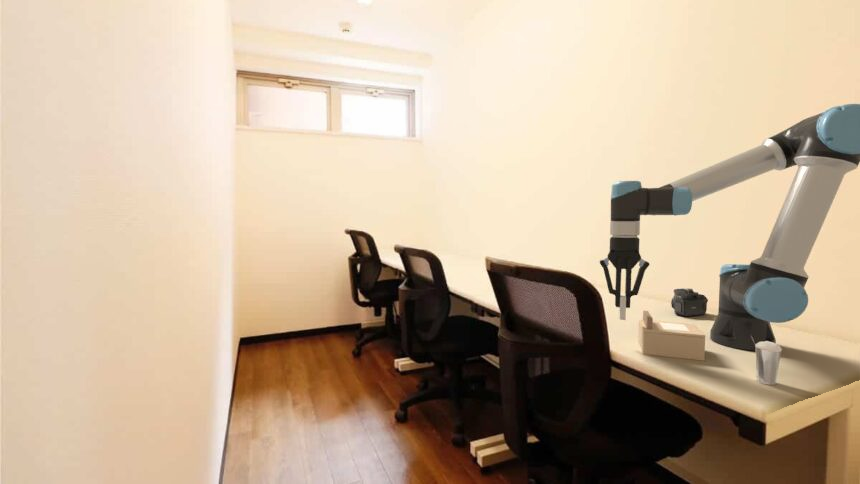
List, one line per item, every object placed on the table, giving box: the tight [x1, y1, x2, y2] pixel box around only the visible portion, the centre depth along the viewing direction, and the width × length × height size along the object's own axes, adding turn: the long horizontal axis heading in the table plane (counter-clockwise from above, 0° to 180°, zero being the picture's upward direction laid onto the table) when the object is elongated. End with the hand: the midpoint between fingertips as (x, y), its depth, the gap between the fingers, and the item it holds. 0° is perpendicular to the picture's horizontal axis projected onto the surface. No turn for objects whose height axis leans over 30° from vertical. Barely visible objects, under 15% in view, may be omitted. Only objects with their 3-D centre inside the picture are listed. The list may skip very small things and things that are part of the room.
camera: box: [670, 288, 709, 317], centre depth 150 cm, size 13×10×10 cm
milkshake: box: [751, 336, 783, 386], centre depth 90 cm, size 4×5×10 cm
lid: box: [638, 310, 706, 338], centre depth 111 cm, size 14×11×4 cm
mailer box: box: [637, 322, 706, 361], centre depth 111 cm, size 14×11×6 cm
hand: (622, 318), depth 115 cm, fingers closed
